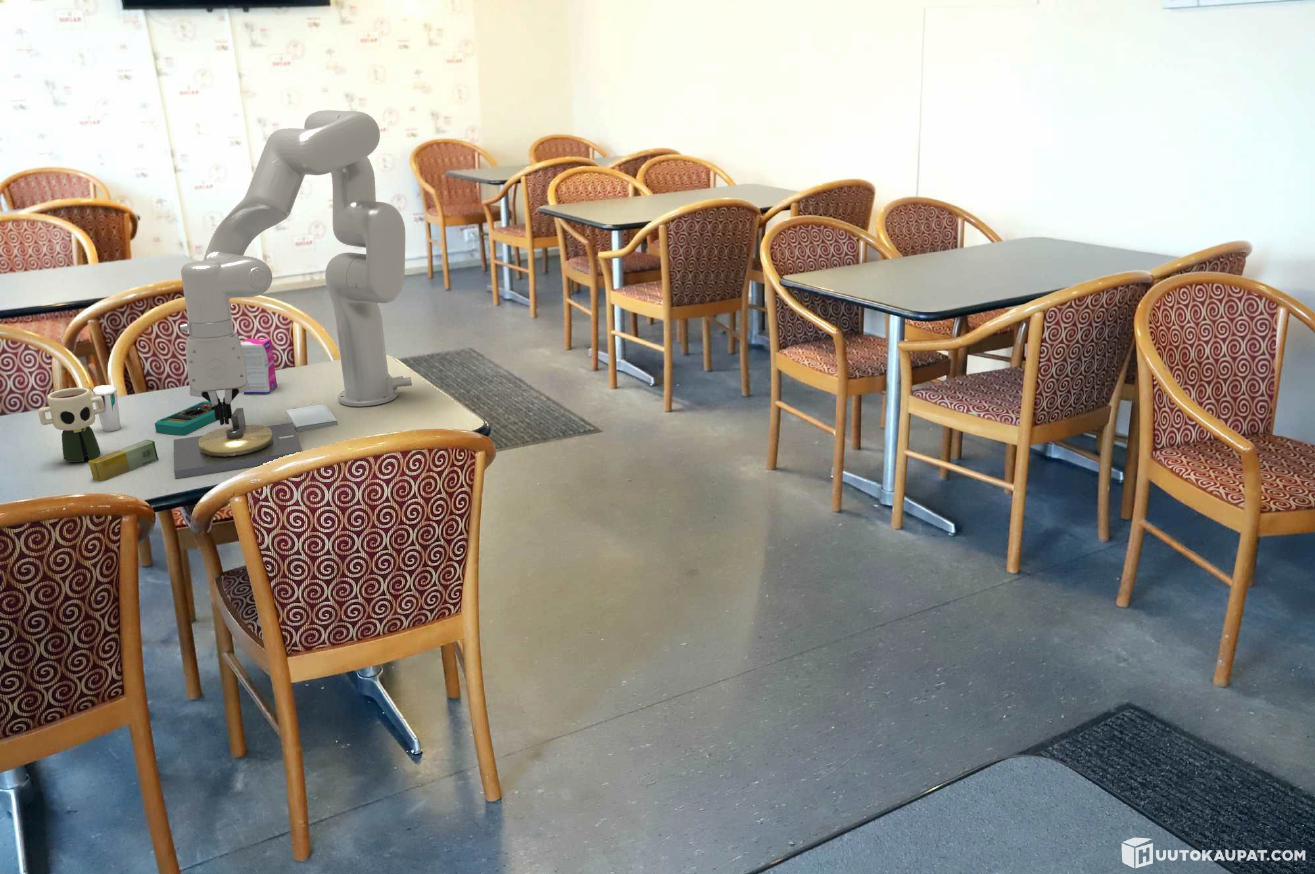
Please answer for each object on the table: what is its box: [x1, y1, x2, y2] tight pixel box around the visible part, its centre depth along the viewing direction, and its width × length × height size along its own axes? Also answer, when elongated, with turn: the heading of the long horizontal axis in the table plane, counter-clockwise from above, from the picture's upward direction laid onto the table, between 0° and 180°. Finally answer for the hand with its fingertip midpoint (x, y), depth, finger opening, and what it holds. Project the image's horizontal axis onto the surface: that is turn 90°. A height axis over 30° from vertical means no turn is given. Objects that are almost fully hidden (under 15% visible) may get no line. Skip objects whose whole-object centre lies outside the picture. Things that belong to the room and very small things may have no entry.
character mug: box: [38, 387, 105, 463], centre depth 198 cm, size 11×7×13 cm, turn 131°
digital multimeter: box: [154, 400, 224, 436], centre depth 218 cm, size 7×15×3 cm, turn 162°
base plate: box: [173, 422, 303, 480], centre depth 201 cm, size 22×18×2 cm
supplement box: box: [240, 338, 278, 396], centre depth 236 cm, size 6×6×12 cm
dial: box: [198, 407, 273, 456], centre depth 200 cm, size 13×13×5 cm
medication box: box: [88, 439, 159, 483], centre depth 194 cm, size 12×3×4 cm, turn 151°
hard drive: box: [285, 404, 339, 433], centre depth 219 cm, size 2×8×12 cm
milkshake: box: [88, 384, 122, 432], centre depth 213 cm, size 4×5×10 cm
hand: (224, 422), depth 203 cm, fingers closed
